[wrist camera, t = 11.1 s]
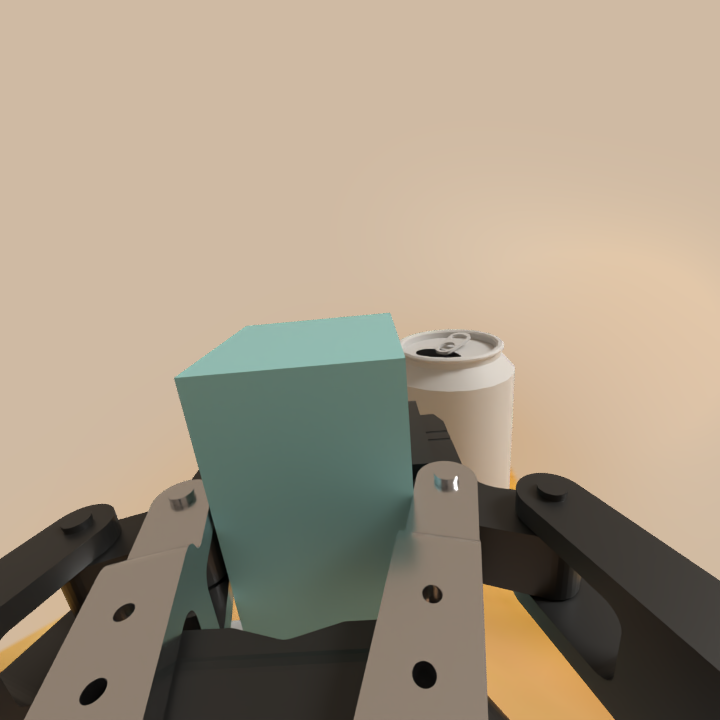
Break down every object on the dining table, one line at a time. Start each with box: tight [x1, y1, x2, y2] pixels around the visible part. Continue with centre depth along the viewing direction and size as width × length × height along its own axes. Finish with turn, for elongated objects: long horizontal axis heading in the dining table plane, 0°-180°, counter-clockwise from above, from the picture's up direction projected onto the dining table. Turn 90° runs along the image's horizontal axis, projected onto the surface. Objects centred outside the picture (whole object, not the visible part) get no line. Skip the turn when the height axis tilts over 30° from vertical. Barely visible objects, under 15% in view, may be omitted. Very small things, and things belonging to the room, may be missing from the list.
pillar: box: [174, 313, 414, 640], centre depth 10 cm, size 4×4×10 cm
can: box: [400, 330, 515, 489], centre depth 23 cm, size 8×8×12 cm
